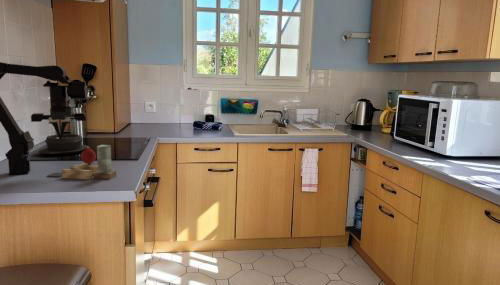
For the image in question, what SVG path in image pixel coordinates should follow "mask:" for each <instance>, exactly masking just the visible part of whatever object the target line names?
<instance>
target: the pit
mask: <svg viewBox="0 0 500 285" xmlns="http://www.w3.org/2000/svg"><path fill="white" fill-rule="evenodd" d="M46 177H47V178H61V177H62V172H53V173H50V174H47V175H46Z"/></svg>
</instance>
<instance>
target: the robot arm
mask: <svg viewBox="0 0 500 285" xmlns="http://www.w3.org/2000/svg"><path fill="white" fill-rule="evenodd" d="M6 74H12V75H22V76H31V77H38V78H42V79H45V80H46V82H45V83H44V84H43V85H42V86H43V88H45V87H47V88H49V89H48V90H49V103H50V105H49V106H50V109H49V113H50V114H44V113H43V112H34V113H32V114H31V115H30V122H31V123H35V122H37V123H41V122H42V121H43V120H44V121H45V120H46V121H48V124H50V125H52V126H53V128H54V130H55V131H56V135H58V137H59V139H62V136H63V134H64V133H65V130H66V129H65V128H66V127H67V125H68V124H71V120H75V121H77V122H83V121H84V122H85V121H87V116H86V115H87V114H86V113H85V112H74V114H72V106H69V105H68V101H67V100H68V99H67V97H69V98H70V100H87V99H88V94H89V90H88V86H87V82H86V81H72V79H71V78H70V77H69V76H68V75H67V74H68V73H67V71H66V68H64V67H63V66H61V65H41V66H35V65H24V64H15V63H7V62H3V61H2V62H1V61H0V80H2V79H3V77H4V76H5V75H6ZM61 84H62V85H61ZM58 120H61V123H60V124H61V127H60V126H59V121H58ZM0 124H1V125H2V127H3V128H4V130H5V132H6V133H7V136H8V144H9V146H10V149H9V150H8V151H7V152H6V153H5V158H6V159H7V160H8V174H7V175H8V176H11V175H12V176H14V175H26V174H27V175H28V174H30V173H29V172H31V159H29V155H30V152H31V151H32V150H33V149H34V146H35V143H34V141H35V139H34V138H33V136H31V133H30V131H28V130H27V131H23V130H22V129H21V128H20V126H19V125H18V123H17V121H16V120H15V119H14V116H13V115H12V114H11V112H10V111H9V108H8V107H7V105H6V103H5V101H4V100H3V99H2V97H1V96H0Z"/></svg>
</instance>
